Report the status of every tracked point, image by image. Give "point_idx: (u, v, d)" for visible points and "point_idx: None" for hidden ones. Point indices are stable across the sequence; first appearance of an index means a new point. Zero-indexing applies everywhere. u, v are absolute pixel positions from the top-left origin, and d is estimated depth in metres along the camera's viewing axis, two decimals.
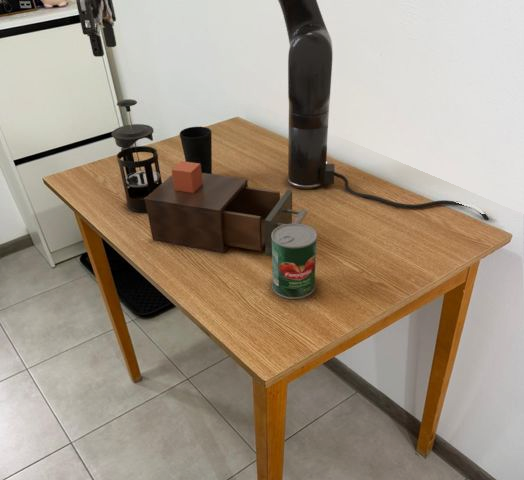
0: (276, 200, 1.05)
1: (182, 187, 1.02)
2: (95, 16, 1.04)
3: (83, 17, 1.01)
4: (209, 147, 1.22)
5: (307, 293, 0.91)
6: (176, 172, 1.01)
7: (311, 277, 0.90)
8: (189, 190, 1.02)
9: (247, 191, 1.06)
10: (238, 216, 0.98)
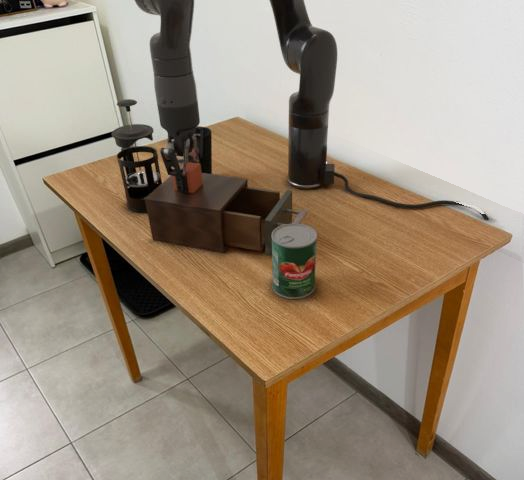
0: (276, 200, 1.05)
1: None
2: (179, 154, 0.97)
3: (168, 164, 0.96)
4: (209, 147, 1.22)
5: (307, 293, 0.91)
6: None
7: (311, 277, 0.90)
8: (189, 190, 1.02)
9: (247, 191, 1.06)
10: (238, 216, 0.98)
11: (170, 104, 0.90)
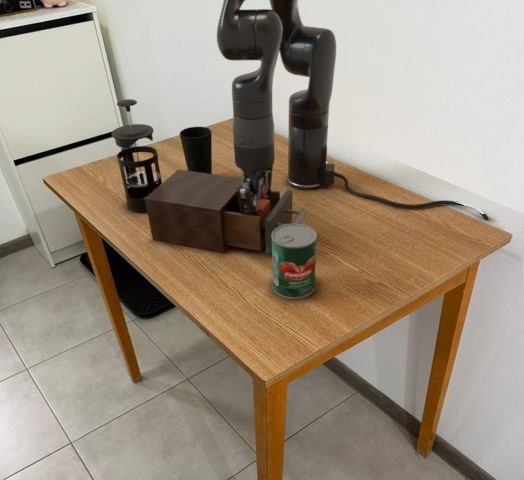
0: (276, 200, 1.05)
1: None
2: (252, 192, 0.97)
3: (242, 203, 0.95)
4: (209, 147, 1.22)
5: (307, 293, 0.91)
6: None
7: (311, 277, 0.90)
8: None
9: None
10: (238, 216, 0.98)
11: (249, 145, 0.90)
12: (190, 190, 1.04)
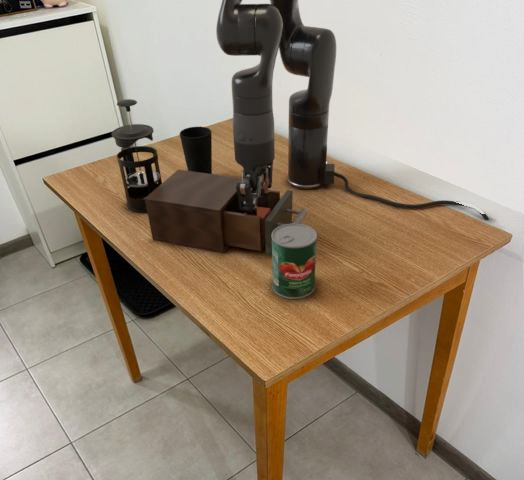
0: (276, 200, 1.05)
1: None
2: (253, 189, 0.97)
3: (242, 199, 0.95)
4: (209, 147, 1.22)
5: (307, 293, 0.91)
6: None
7: (311, 277, 0.90)
8: None
9: None
10: (238, 216, 0.98)
11: (249, 141, 0.89)
12: (190, 190, 1.04)
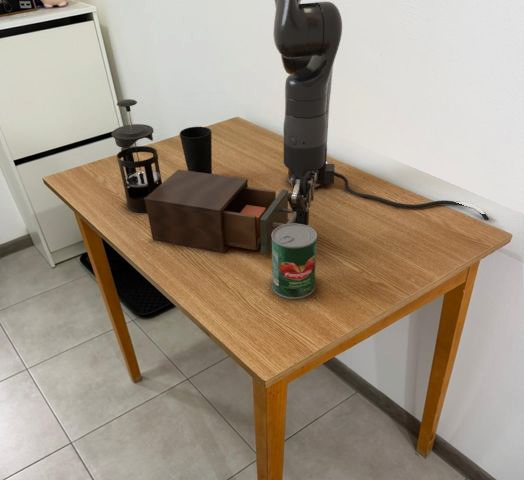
0: (272, 199, 1.06)
1: None
2: (301, 194, 0.94)
3: (294, 205, 0.94)
4: (209, 147, 1.22)
5: (307, 293, 0.91)
6: None
7: (311, 277, 0.90)
8: None
9: (243, 190, 1.07)
10: (233, 215, 0.98)
11: (302, 145, 0.86)
12: (190, 190, 1.04)
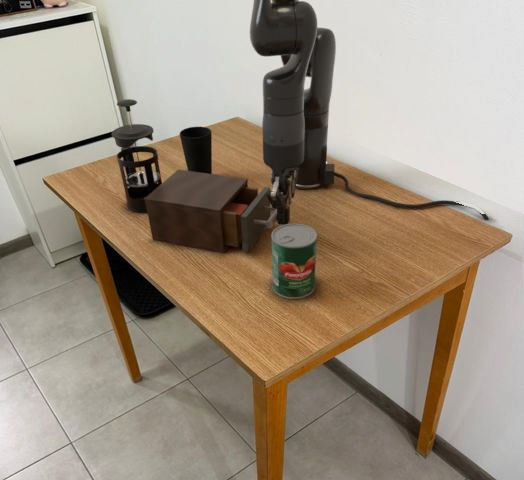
0: (254, 197, 1.07)
1: None
2: (281, 191, 0.95)
3: (273, 203, 0.95)
4: (209, 147, 1.22)
5: (307, 293, 0.91)
6: None
7: (311, 277, 0.90)
8: None
9: None
10: None
11: (280, 143, 0.88)
12: (190, 190, 1.04)
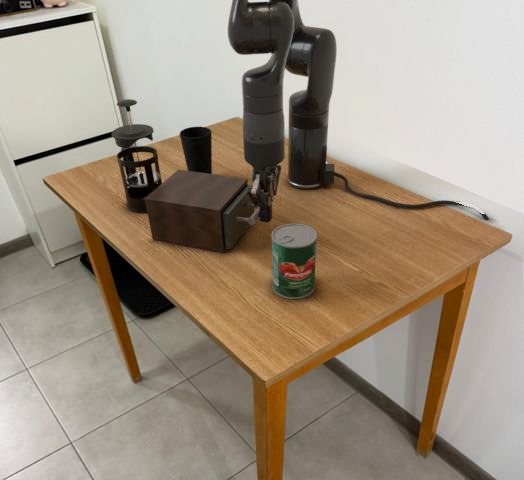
0: (238, 194, 1.08)
1: None
2: (262, 188, 0.96)
3: (255, 200, 0.96)
4: (209, 147, 1.22)
5: (307, 293, 0.91)
6: None
7: (311, 277, 0.90)
8: None
9: None
10: None
11: (259, 140, 0.89)
12: (190, 190, 1.04)
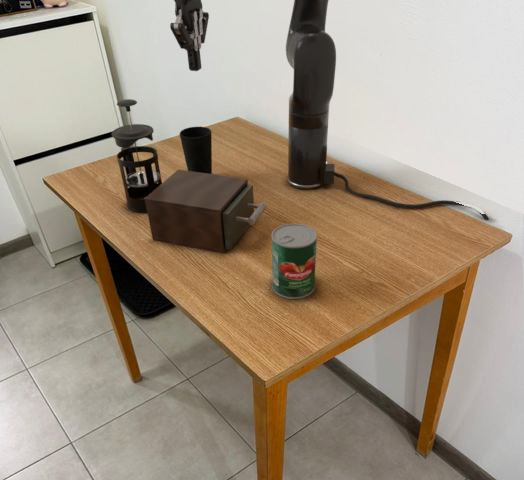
0: (237, 194, 1.08)
1: None
2: (186, 28, 0.99)
3: (179, 38, 0.99)
4: (209, 147, 1.22)
5: (307, 293, 0.91)
6: None
7: (311, 277, 0.90)
8: None
9: None
10: None
11: None
12: (190, 190, 1.04)
